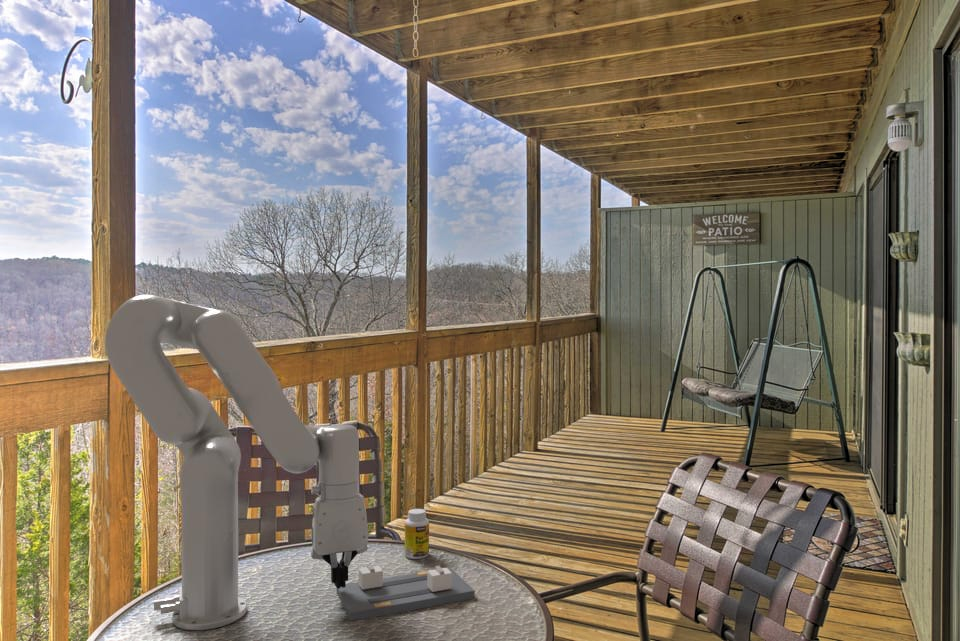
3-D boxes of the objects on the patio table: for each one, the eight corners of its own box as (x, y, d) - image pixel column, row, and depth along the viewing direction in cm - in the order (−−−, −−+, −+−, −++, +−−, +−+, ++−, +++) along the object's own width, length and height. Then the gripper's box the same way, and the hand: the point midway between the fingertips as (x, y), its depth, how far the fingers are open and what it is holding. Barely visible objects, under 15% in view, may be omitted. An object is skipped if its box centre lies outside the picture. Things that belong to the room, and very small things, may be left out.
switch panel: (351, 621, 117) (351, 612, 117) (336, 593, 129) (336, 585, 129) (474, 598, 127) (474, 590, 127) (450, 574, 139) (450, 567, 139)
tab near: (432, 591, 125) (432, 573, 125) (427, 586, 128) (427, 567, 128) (451, 588, 127) (451, 569, 127) (446, 582, 130) (446, 564, 130)
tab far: (362, 589, 126) (362, 570, 126) (358, 583, 129) (358, 565, 129) (382, 586, 128) (382, 567, 128) (378, 580, 131) (378, 562, 131)
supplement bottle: (414, 562, 146) (414, 516, 146) (399, 555, 150) (399, 510, 150) (434, 555, 150) (434, 511, 150) (418, 549, 154) (418, 506, 154)
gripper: (302, 499, 120) (302, 600, 120) (382, 490, 126) (382, 586, 126) (296, 489, 126) (296, 584, 126) (372, 481, 132) (373, 572, 132)
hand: (339, 585), depth 126 cm, fingers closed
